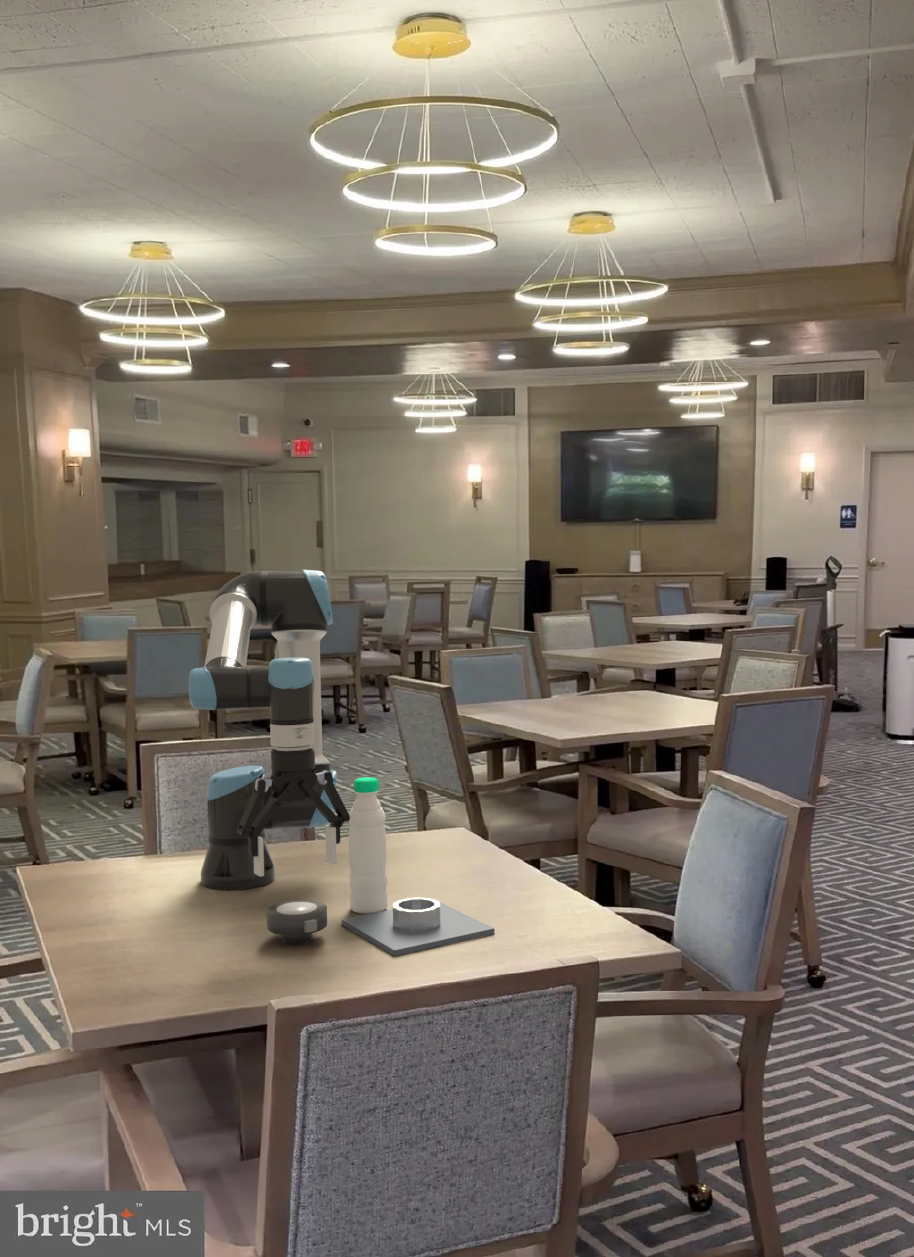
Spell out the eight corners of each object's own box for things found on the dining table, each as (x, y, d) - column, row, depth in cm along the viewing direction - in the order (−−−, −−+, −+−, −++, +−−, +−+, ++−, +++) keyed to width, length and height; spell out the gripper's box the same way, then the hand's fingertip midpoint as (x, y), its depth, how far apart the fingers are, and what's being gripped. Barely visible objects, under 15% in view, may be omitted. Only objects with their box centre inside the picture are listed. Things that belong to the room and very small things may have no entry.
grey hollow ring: (384, 921, 204) (384, 902, 204) (425, 913, 209) (425, 894, 209) (407, 934, 197) (407, 914, 197) (449, 925, 202) (448, 906, 201)
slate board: (341, 924, 206) (341, 919, 206) (436, 905, 217) (436, 900, 217) (394, 956, 189) (394, 950, 189) (494, 933, 200) (494, 928, 200)
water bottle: (381, 915, 211) (379, 782, 210) (345, 914, 213) (342, 781, 211) (391, 904, 218) (389, 775, 217) (356, 902, 220) (353, 774, 218)
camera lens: (256, 936, 201) (255, 904, 201) (310, 925, 206) (309, 894, 206) (283, 955, 191) (282, 922, 190) (339, 943, 196) (339, 911, 196)
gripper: (231, 757, 187) (235, 884, 188) (366, 743, 200) (369, 862, 201) (215, 751, 193) (219, 875, 194) (348, 738, 206) (350, 853, 207)
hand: (295, 868), depth 198 cm, fingers open, 13 cm apart
